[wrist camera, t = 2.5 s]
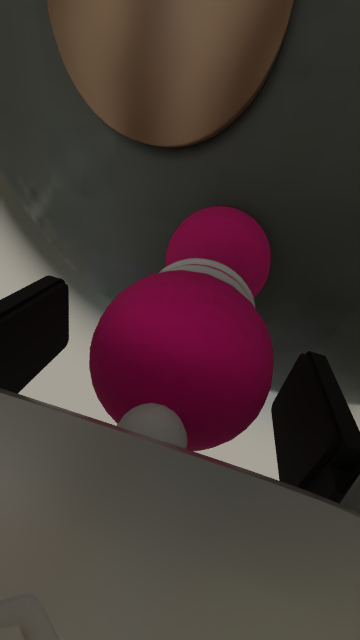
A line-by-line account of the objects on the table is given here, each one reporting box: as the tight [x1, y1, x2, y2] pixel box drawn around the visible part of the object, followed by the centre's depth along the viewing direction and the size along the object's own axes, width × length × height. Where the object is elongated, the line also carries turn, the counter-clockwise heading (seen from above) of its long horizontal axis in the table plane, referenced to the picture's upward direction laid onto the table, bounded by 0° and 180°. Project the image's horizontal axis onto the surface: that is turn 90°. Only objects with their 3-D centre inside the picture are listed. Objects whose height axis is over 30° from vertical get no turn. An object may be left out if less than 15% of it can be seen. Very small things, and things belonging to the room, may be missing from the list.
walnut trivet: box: [47, 0, 294, 148], centre depth 15 cm, size 14×14×2 cm
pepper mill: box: [89, 206, 274, 451], centre depth 14 cm, size 7×7×20 cm
